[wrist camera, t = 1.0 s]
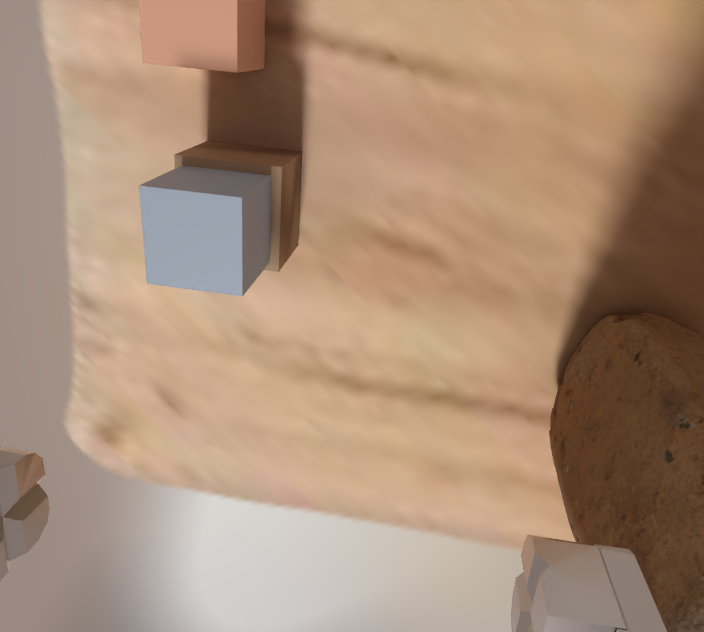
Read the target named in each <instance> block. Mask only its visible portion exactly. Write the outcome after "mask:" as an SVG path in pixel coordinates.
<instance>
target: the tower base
mask: <svg viewBox="0 0 704 632" xmlns="http://www.w3.org/2000/svg"><path fill="white" fill-rule="evenodd" d="M174 158H175V169H176V168H178V167H180V166H182V165H183V166H191V167H200V168H209V169H218V170H227V171H235V172H244V173H253V174H262V175H271V212H270V263H269V264H268V265H267V266H266V268H265V269H264V270H270V271H277V272H279V271H280V269H281V268H282V266H283V265H284V264H285V262H286V261H287V260H288V258H289V257H290V256H291V254H292V253H293V251H294V250H295V249H296V247H297V246H298V234H299V212H300V190H301V167H302V152H300V151H291V150H282V149H273V148H264V147H255V146H247V145H238V144H229V143H220V142H211V141H207V142H204V143H202V144H199V145H197V146H194V147H192V148H190V149H187V150H185V151H182V152H180V153H177V154H175V155H174Z"/></svg>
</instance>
